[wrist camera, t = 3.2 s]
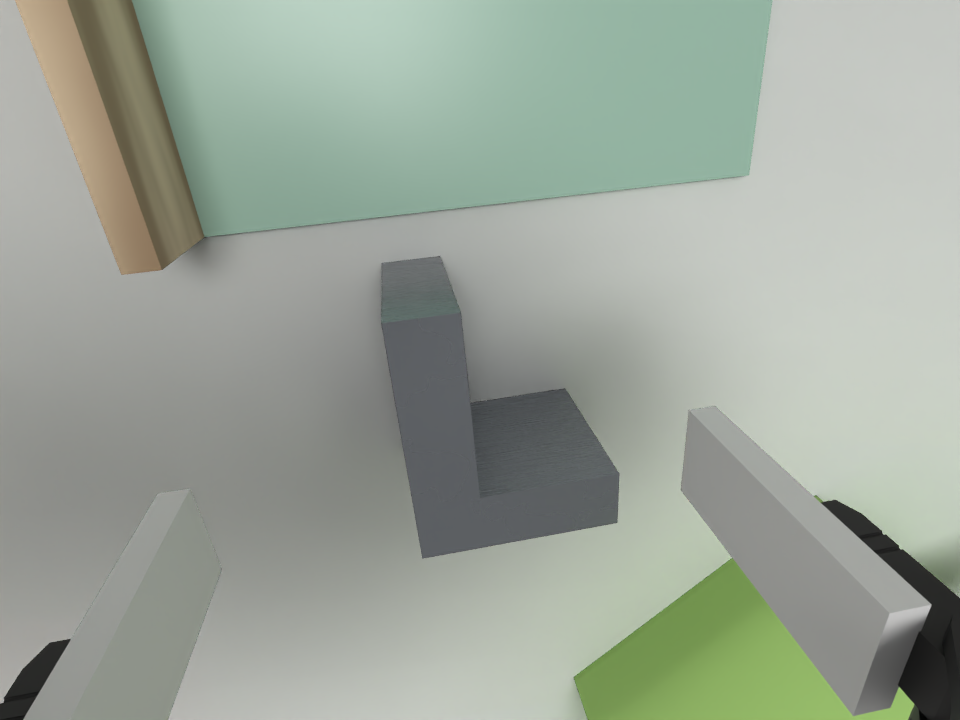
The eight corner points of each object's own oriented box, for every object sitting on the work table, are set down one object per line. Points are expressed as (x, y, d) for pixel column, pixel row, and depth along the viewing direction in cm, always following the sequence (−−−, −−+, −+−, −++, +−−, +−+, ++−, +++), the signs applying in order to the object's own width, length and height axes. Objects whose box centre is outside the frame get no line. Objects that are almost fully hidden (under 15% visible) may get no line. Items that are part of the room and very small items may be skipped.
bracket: (413, 454, 28) (422, 558, 21) (381, 263, 23) (381, 323, 17) (565, 430, 28) (617, 522, 22) (563, 241, 24) (627, 290, 18)
